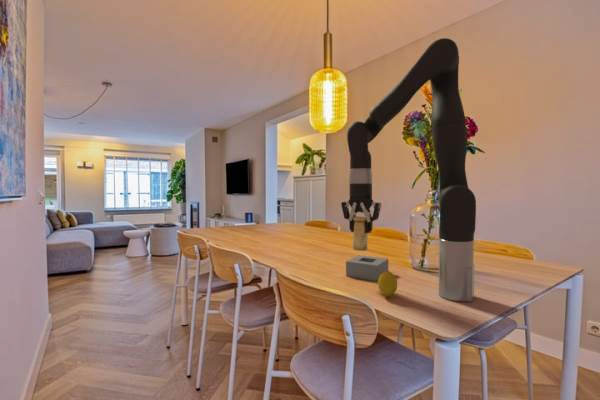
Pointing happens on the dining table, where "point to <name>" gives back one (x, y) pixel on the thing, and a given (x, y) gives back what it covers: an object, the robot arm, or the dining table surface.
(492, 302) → the dining table surface
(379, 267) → the block
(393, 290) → the lemon
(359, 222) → the glass jar
